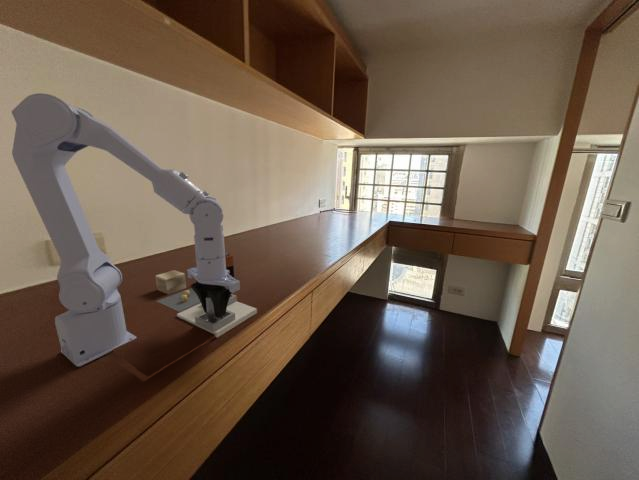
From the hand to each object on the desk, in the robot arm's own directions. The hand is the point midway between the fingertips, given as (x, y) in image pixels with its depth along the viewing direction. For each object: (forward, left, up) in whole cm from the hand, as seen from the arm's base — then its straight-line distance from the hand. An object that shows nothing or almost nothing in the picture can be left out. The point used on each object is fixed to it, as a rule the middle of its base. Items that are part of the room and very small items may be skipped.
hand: (215, 313), depth 57 cm
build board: (+3, +3, -3) cm, 6 cm away
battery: (+18, +19, -3) cm, 27 cm away
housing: (+5, +26, -3) cm, 26 cm away
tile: (+4, +17, -3) cm, 17 cm away
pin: (0, 0, -2) cm, 2 cm away
